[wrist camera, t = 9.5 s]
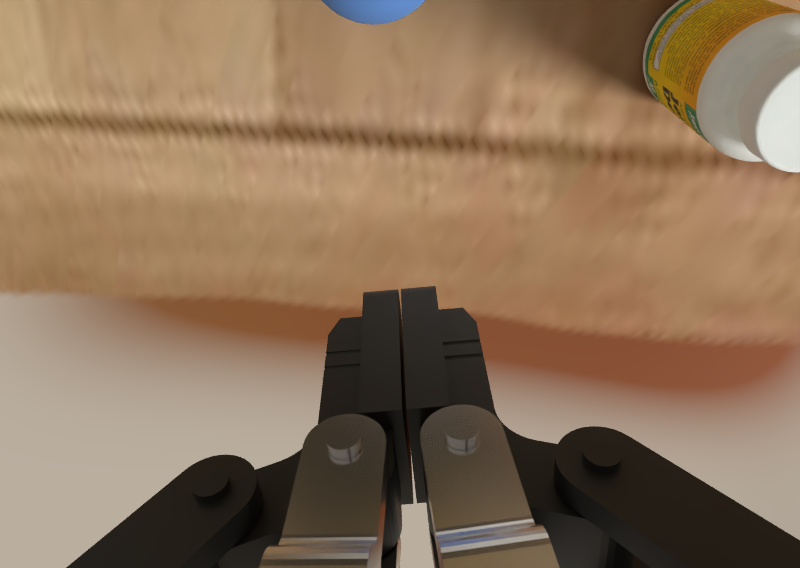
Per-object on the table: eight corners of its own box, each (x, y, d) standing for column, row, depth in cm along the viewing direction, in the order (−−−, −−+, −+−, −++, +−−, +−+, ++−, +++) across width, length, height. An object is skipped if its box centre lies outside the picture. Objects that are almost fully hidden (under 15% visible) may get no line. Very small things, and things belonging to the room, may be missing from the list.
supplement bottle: (785, 20, 28) (944, 79, 20) (704, 126, 31) (818, 215, 23) (690, -39, 27) (821, -1, 19) (614, 77, 30) (701, 153, 22)
